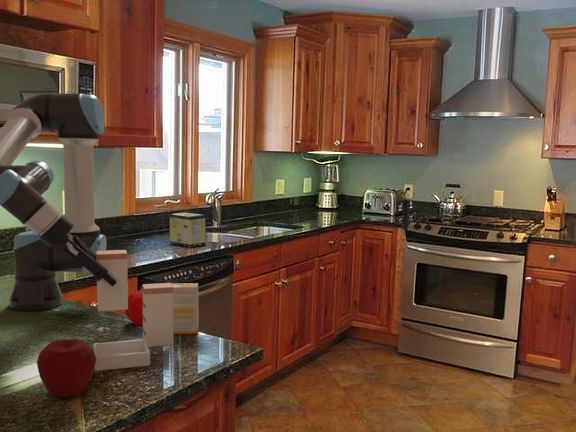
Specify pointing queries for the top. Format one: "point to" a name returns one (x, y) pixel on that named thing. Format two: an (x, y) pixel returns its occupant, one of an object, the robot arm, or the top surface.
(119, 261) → the stub
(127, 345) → the tray
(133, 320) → the tomato
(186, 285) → the supplement box
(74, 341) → the apple
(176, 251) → the top surface
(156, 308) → the block
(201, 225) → the protein box
